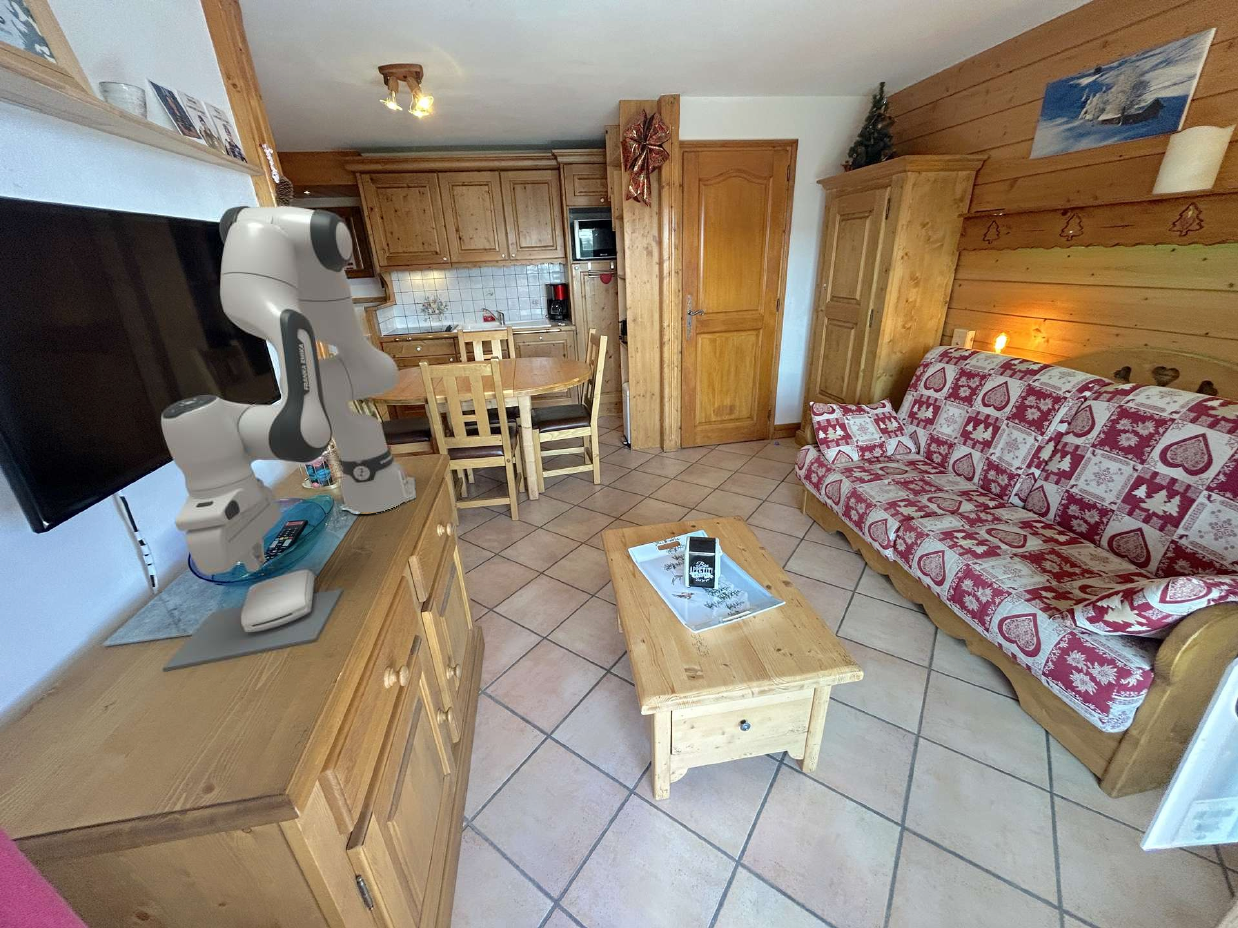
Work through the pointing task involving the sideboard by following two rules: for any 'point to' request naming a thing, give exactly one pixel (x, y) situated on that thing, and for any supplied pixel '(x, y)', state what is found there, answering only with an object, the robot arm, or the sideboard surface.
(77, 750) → the sideboard surface
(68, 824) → the sideboard surface
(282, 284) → the robot arm
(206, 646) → the mat
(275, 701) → the sideboard surface
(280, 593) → the photo printer
